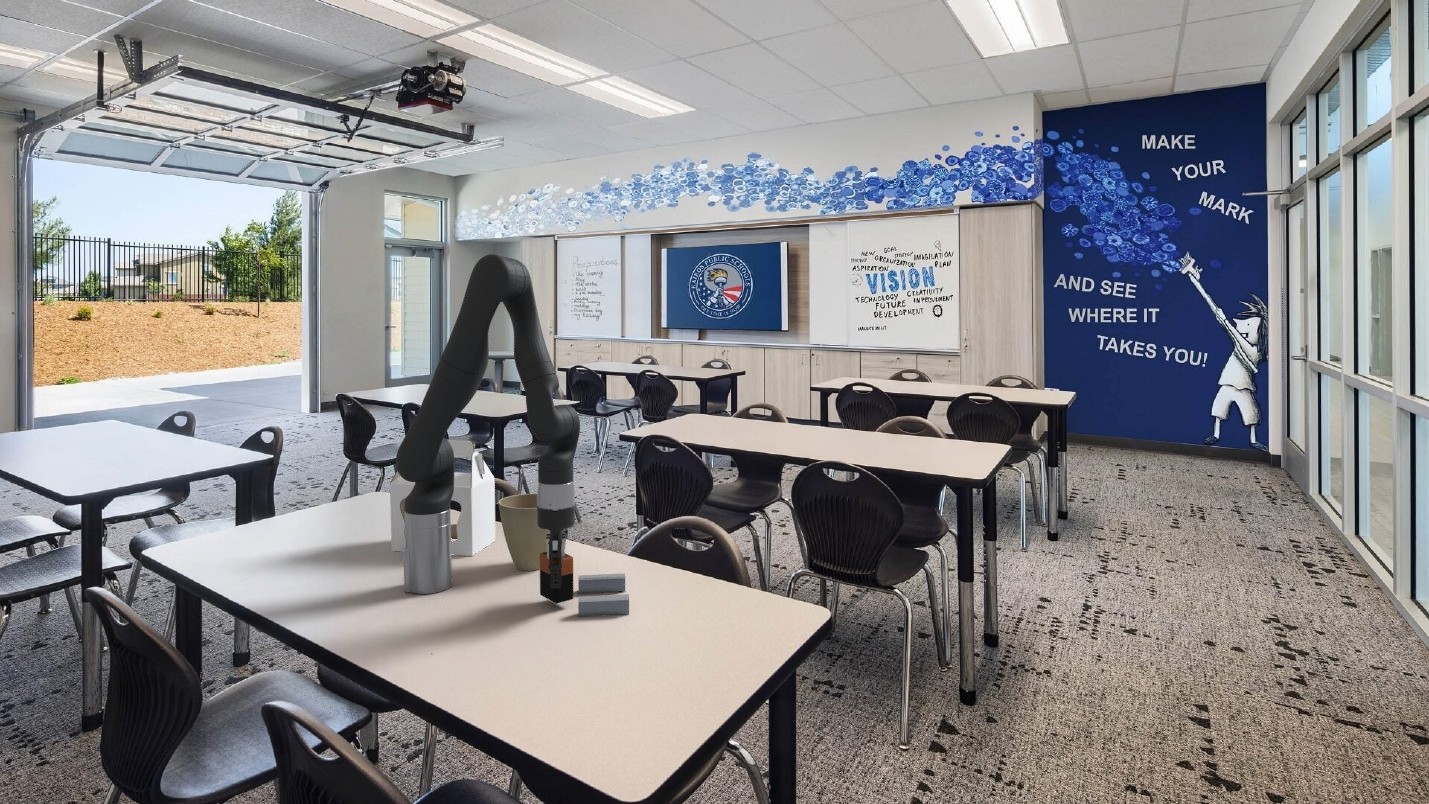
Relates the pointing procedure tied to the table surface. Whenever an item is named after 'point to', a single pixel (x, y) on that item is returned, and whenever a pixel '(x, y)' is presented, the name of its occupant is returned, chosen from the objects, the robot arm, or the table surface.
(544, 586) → the battery
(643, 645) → the table surface
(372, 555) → the table surface
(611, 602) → the housing
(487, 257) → the robot arm
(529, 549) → the plant pot
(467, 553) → the gable box
